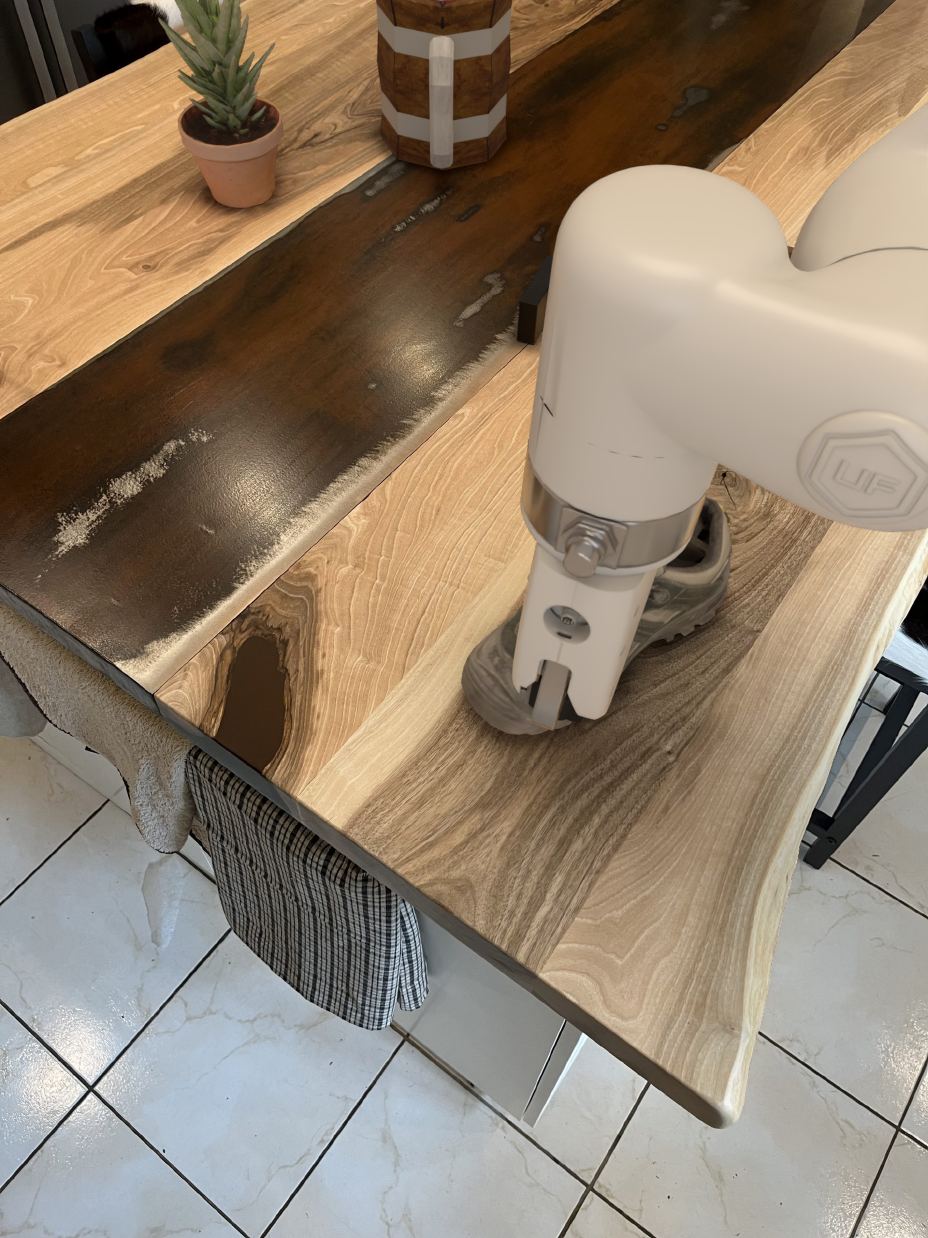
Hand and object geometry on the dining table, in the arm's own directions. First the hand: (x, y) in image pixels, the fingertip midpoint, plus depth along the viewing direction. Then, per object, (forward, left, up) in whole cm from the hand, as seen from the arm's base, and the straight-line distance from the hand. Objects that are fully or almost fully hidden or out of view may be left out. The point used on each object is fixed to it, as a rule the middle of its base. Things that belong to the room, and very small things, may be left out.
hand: (558, 703), depth 54 cm
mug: (+33, -62, -5) cm, 70 cm away
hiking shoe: (0, -8, -5) cm, 10 cm away
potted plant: (+48, -47, -5) cm, 67 cm away
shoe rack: (+2, -41, -5) cm, 41 cm away
